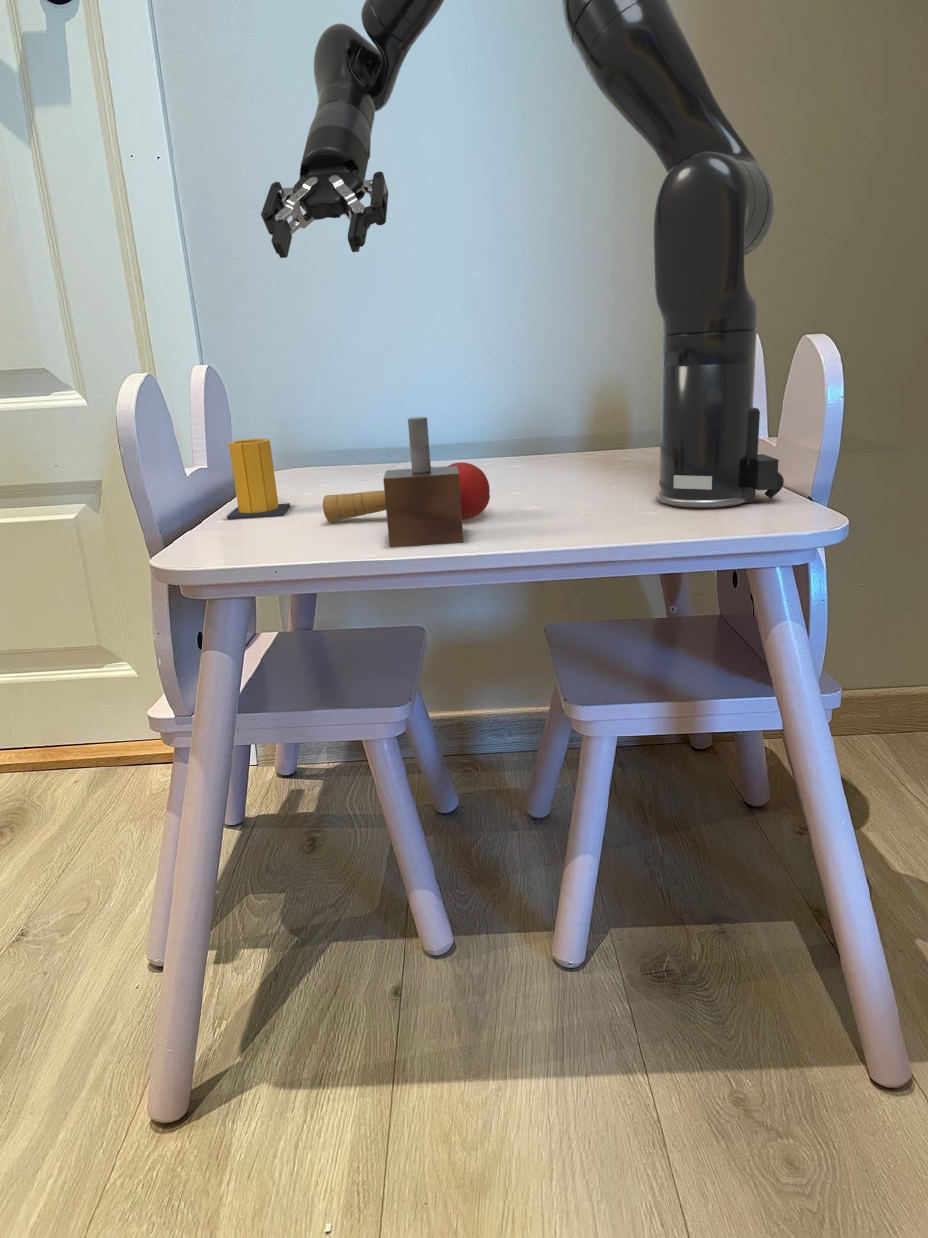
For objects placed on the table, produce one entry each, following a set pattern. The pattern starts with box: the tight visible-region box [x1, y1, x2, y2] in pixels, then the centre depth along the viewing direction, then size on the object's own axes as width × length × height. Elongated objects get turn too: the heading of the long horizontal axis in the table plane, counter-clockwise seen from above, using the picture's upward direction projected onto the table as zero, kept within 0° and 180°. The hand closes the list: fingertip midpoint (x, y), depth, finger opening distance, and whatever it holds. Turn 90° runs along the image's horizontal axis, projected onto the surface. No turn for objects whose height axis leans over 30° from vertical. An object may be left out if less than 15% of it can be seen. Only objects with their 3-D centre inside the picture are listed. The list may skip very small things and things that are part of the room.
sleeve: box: [228, 438, 279, 514], centre depth 97 cm, size 5×5×8 cm
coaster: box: [226, 502, 291, 520], centre depth 98 cm, size 6×6×1 cm
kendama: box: [322, 461, 491, 523], centre depth 88 cm, size 8×6×18 cm
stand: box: [383, 416, 464, 548], centre depth 79 cm, size 7×5×12 cm
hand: (316, 248), depth 93 cm, fingers open, 8 cm apart
